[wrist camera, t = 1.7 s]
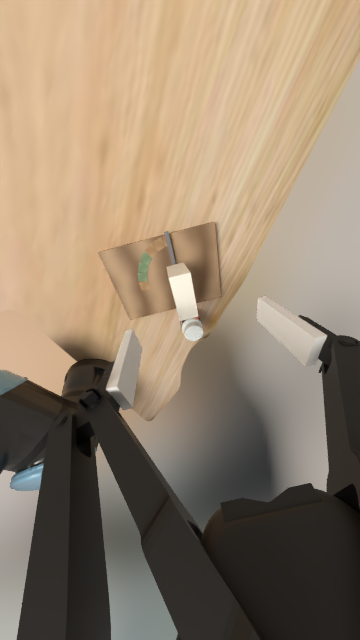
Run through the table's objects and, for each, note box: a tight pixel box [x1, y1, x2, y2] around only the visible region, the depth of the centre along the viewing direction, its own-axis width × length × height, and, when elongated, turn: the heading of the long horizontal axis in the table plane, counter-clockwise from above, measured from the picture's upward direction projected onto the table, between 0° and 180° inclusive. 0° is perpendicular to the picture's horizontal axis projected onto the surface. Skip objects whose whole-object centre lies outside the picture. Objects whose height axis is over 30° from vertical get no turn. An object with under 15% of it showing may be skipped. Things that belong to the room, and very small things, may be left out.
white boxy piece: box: [164, 231, 198, 321], centre depth 25 cm, size 3×12×11 cm, turn 13°
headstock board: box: [98, 222, 221, 320], centre depth 32 cm, size 22×15×2 cm
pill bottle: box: [180, 316, 203, 341], centre depth 35 cm, size 5×5×8 cm
